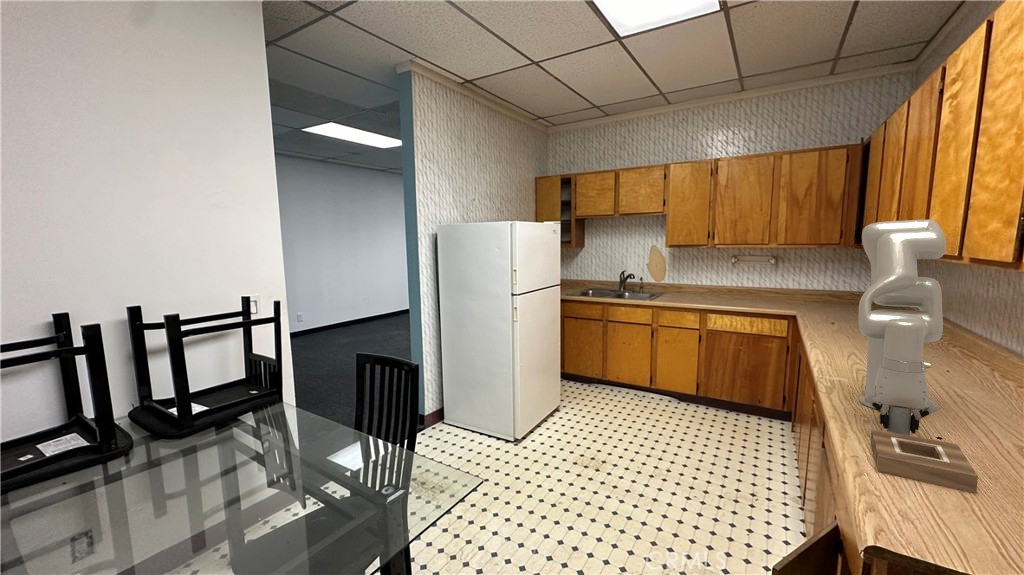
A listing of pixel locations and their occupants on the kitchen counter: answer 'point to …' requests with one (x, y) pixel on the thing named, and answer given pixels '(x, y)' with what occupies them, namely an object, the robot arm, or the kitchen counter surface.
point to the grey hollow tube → (899, 420)
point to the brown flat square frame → (923, 460)
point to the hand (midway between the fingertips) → (898, 428)
